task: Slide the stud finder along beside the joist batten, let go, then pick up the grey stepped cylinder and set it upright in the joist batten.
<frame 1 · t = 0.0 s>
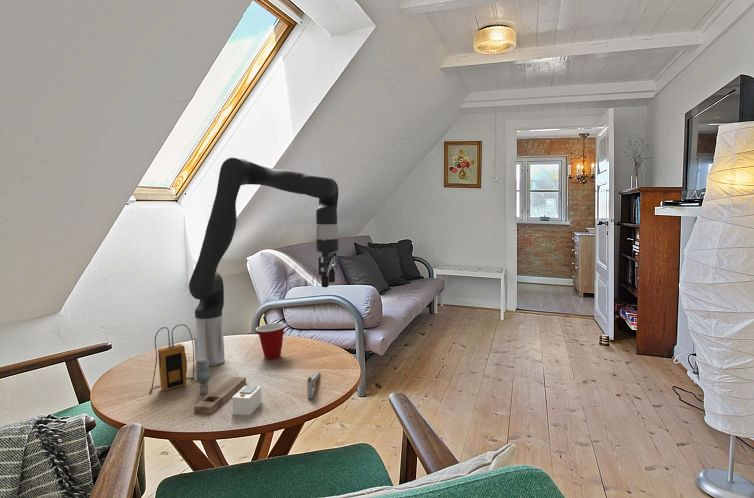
hand: (328, 284, 162), 29 cm above the table, fingers open, 8 cm apart
grey stepped cylinder: (204, 393, 145), on the table
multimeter: (169, 385, 153), on the table
plastic cup: (271, 357, 177), on the table
joist batten: (222, 397, 142), on the table
stud finder: (247, 408, 134), on the table
caliper: (314, 387, 149), on the table
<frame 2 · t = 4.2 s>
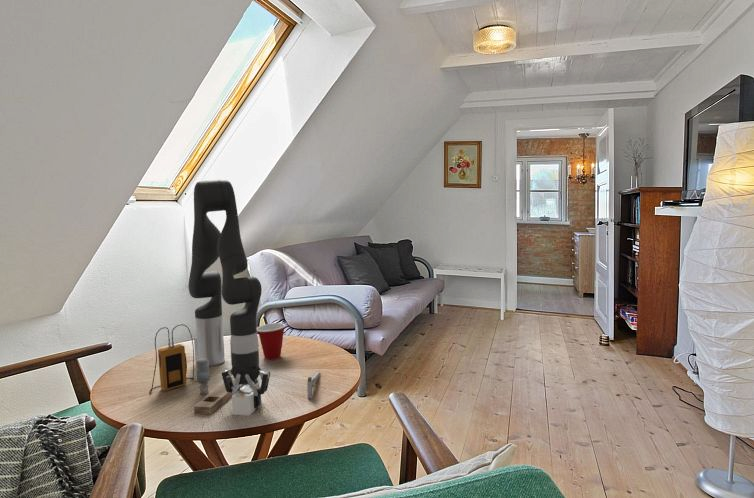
hand: (247, 406, 134), 1 cm above the table, fingers closed on stud finder, 5 cm apart
stud finder: (247, 408, 134), on the table, touching gripper
everything else where it was.
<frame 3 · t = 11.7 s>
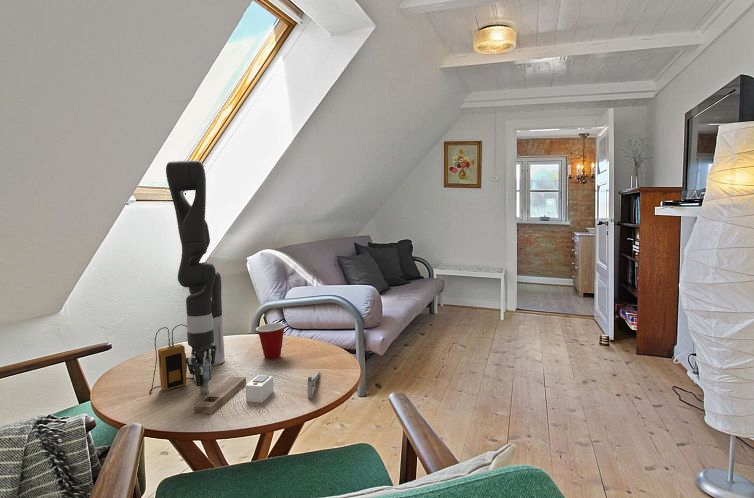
hand: (203, 383, 145), 3 cm above the table, fingers closed on grey stepped cylinder, 3 cm apart
grey stepped cylinder: (204, 393, 145), on the table, touching gripper
stud finder: (260, 396, 142), on the table
everything else where it was.
when the fingers open (5 cm above the table, at t = 16.2 s): grey stepped cylinder drops 1 cm, resting in joist batten.
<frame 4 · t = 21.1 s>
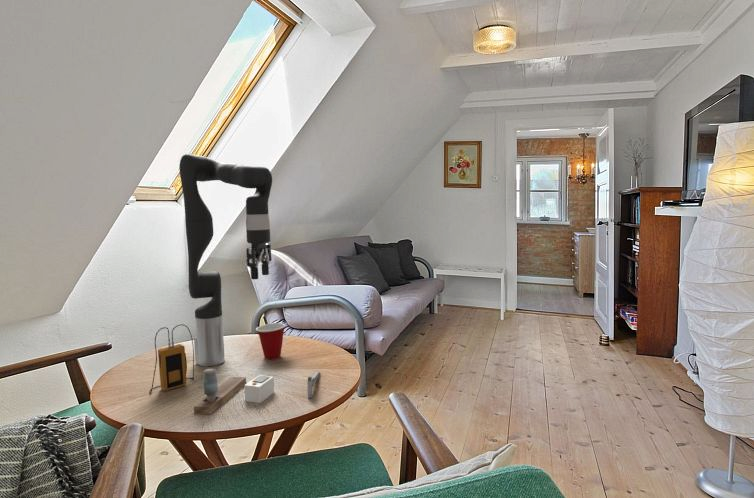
hand: (260, 277, 157), 33 cm above the table, fingers open, 8 cm apart
grey stepped cylinder: (211, 405, 136), resting in joist batten
everything else where it was.
at the end: grey stepped cylinder 0.0 cm from the target spot, resting in joist batten; grey stepped cylinder tilted 0°; stud finder moved 8.0 cm from its start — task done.
